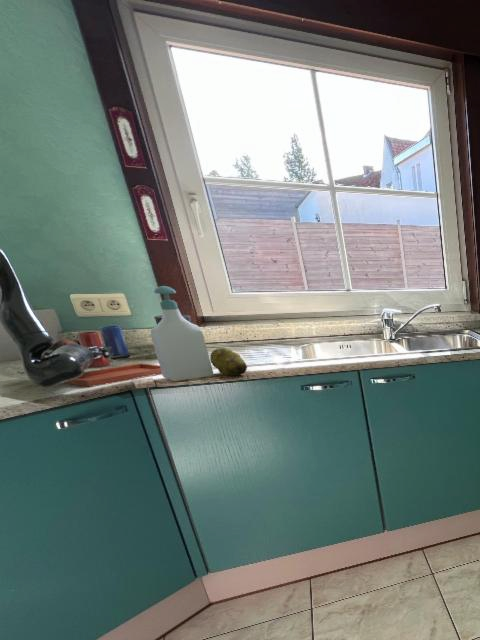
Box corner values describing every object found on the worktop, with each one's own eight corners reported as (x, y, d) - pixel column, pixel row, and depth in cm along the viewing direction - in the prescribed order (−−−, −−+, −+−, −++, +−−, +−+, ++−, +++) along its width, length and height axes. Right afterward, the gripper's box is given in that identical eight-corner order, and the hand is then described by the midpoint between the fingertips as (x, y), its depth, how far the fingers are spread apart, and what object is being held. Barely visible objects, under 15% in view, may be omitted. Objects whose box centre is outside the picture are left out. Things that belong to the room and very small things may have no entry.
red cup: (95, 368, 162) (83, 334, 158) (84, 366, 163) (72, 333, 159) (114, 365, 167) (103, 332, 162) (103, 363, 168) (92, 331, 164)
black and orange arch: (79, 363, 169) (54, 343, 164) (58, 374, 171) (33, 354, 166) (102, 348, 179) (79, 329, 174) (83, 358, 180) (59, 340, 175)
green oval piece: (218, 379, 154) (212, 353, 151) (212, 371, 162) (206, 347, 159) (250, 375, 159) (244, 351, 156) (242, 368, 168) (236, 345, 165)
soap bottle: (202, 371, 162) (178, 284, 152) (213, 375, 158) (190, 286, 148) (161, 377, 153) (133, 285, 143) (172, 381, 149) (144, 287, 139)
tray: (90, 386, 141) (88, 381, 140) (60, 381, 145) (57, 376, 144) (171, 372, 160) (170, 366, 160) (143, 368, 164) (141, 363, 163)
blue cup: (116, 359, 174) (105, 328, 170) (106, 358, 176) (95, 327, 172) (134, 357, 179) (124, 326, 175) (123, 355, 180) (113, 325, 176)
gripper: (100, 344, 145) (111, 336, 157) (31, 347, 138) (48, 339, 150) (109, 369, 148) (119, 359, 160) (41, 373, 140) (58, 363, 153)
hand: (85, 349), depth 155 cm, fingers open, 8 cm apart
